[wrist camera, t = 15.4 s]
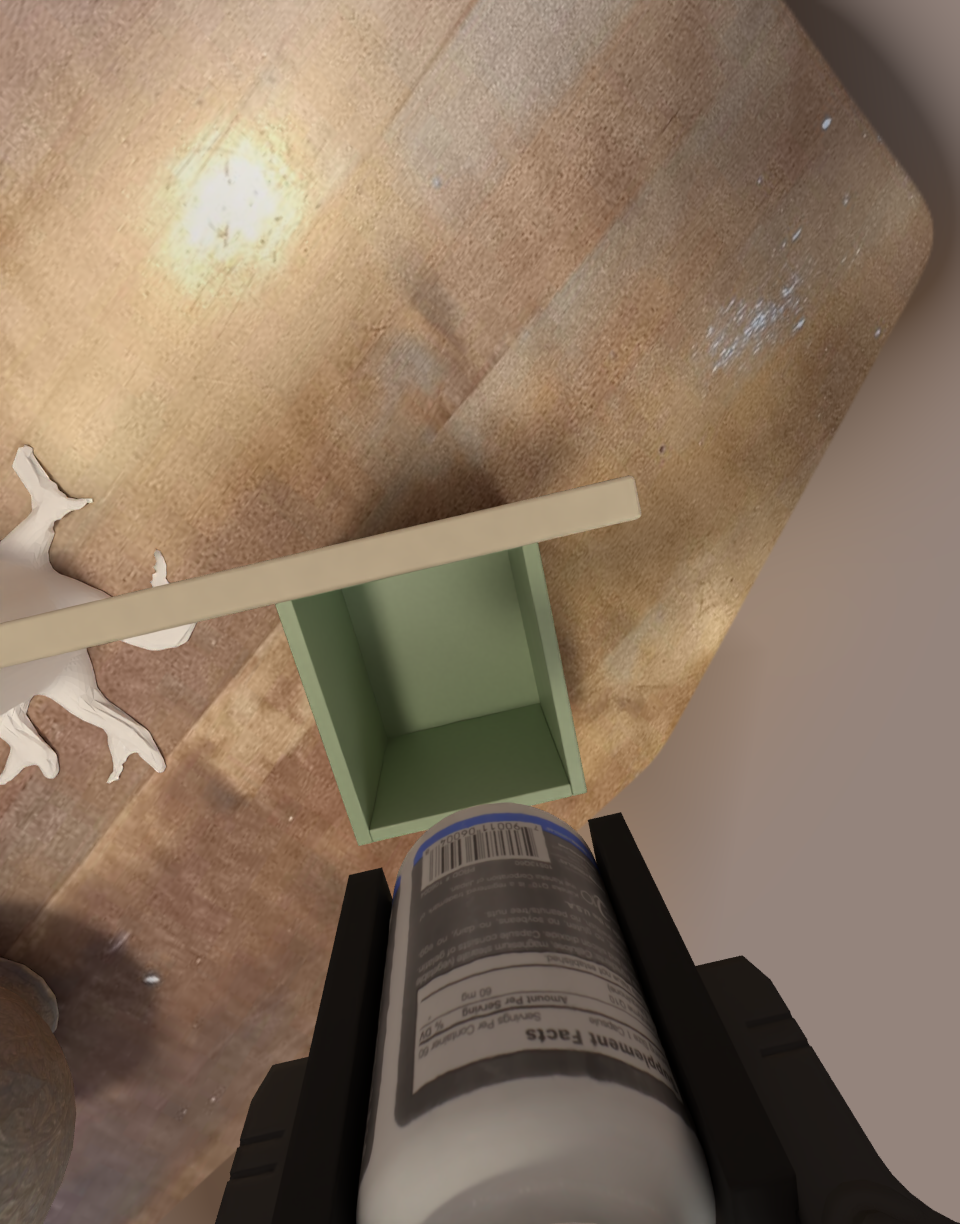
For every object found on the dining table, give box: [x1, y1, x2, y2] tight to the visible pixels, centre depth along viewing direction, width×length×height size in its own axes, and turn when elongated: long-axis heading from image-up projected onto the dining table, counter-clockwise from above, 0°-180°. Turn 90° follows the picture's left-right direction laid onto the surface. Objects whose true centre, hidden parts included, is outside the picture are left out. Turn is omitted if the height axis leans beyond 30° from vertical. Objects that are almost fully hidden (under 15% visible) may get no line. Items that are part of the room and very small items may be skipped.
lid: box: [0, 476, 641, 668], centre depth 18 cm, size 15×13×1 cm
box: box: [275, 542, 587, 846], centre depth 33 cm, size 15×13×11 cm
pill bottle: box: [356, 802, 716, 1224], centre depth 9 cm, size 5×5×8 cm
